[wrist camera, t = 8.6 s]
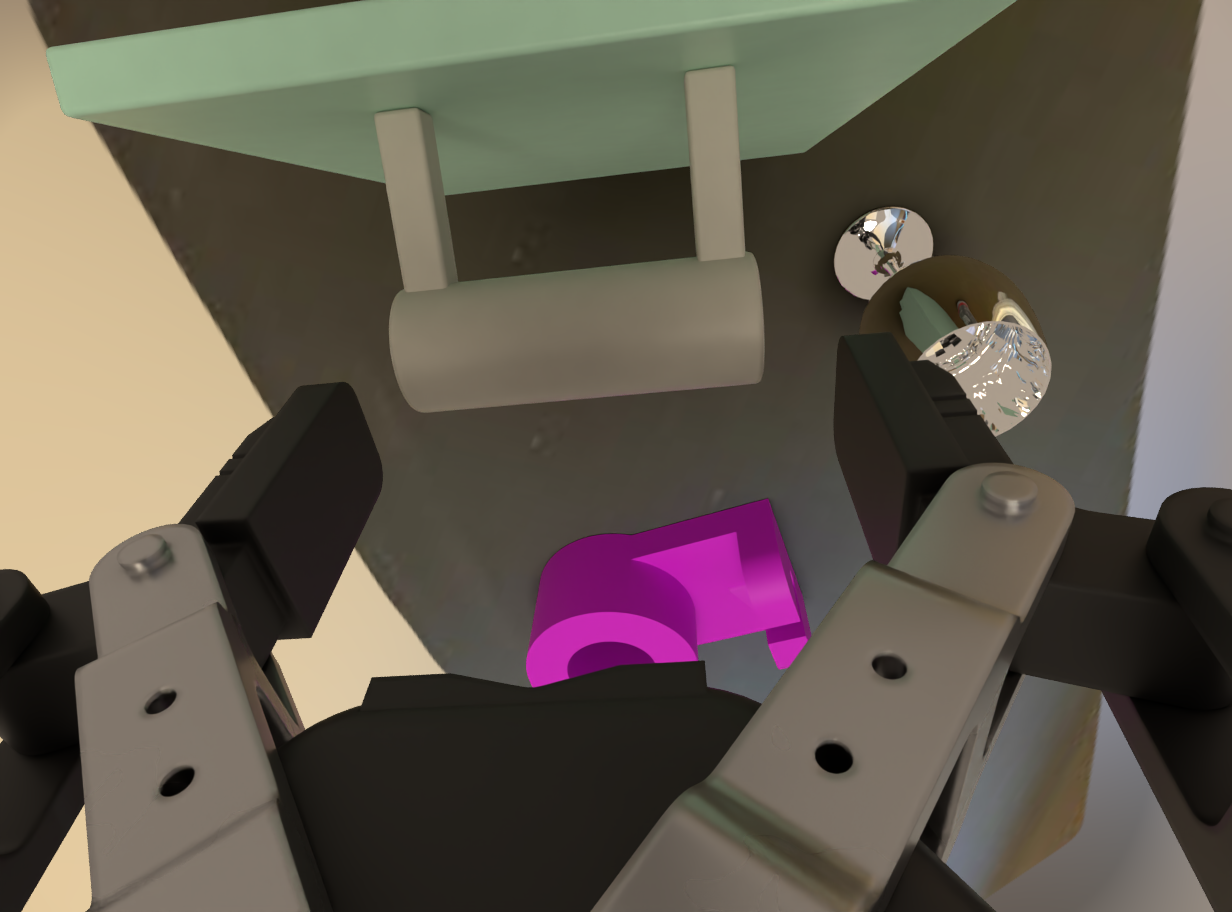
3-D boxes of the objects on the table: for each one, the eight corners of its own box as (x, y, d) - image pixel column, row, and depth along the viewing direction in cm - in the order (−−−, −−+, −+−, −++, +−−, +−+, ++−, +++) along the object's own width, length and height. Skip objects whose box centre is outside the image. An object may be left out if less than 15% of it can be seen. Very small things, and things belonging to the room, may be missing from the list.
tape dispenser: (576, 656, 51) (568, 736, 46) (513, 557, 46) (496, 635, 41) (805, 603, 47) (823, 684, 42) (764, 488, 42) (780, 565, 37)
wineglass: (967, 269, 34) (1094, 404, 24) (852, 333, 36) (926, 482, 27) (917, 163, 32) (1036, 268, 22) (796, 240, 34) (855, 366, 24)
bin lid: (39, 46, 9) (157, 466, 10) (1055, -107, 8) (1031, 394, 9) (437, 169, 24) (464, 334, 25) (805, 124, 23) (811, 300, 24)
